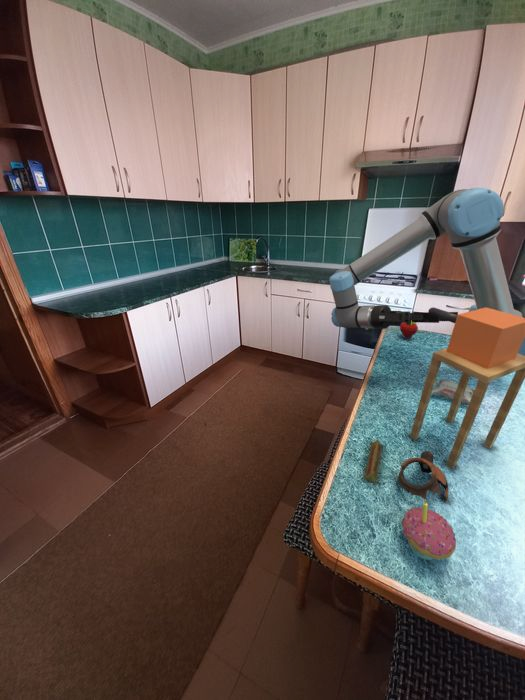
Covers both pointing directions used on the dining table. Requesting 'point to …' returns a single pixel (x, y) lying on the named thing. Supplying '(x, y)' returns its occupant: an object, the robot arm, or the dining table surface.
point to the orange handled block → (484, 335)
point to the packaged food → (452, 391)
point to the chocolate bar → (373, 462)
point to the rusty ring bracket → (427, 467)
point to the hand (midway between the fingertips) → (448, 317)
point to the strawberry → (408, 329)
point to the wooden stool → (485, 376)
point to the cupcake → (428, 533)
